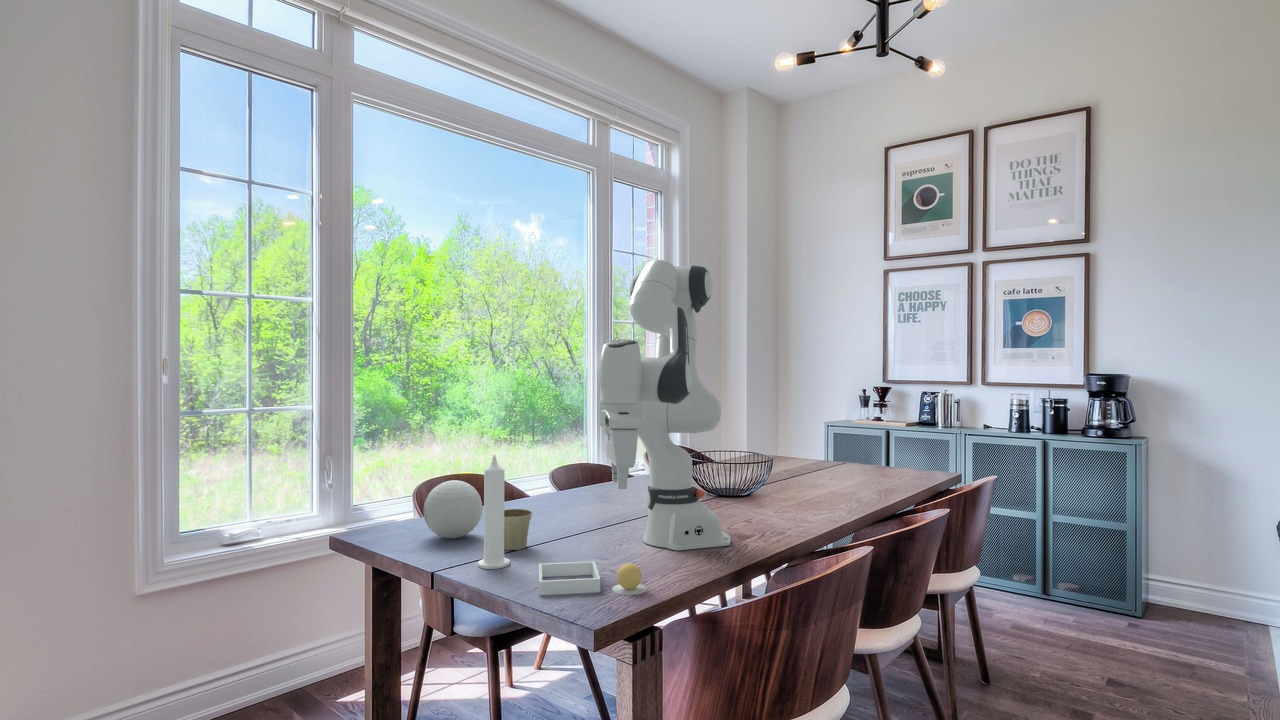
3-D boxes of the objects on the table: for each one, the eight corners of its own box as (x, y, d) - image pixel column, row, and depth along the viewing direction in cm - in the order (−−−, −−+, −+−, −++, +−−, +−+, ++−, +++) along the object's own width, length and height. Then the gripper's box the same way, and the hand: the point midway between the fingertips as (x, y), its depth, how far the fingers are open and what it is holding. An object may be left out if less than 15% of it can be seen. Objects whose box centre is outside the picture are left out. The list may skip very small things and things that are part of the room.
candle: (480, 560, 155) (481, 452, 155) (511, 559, 156) (511, 452, 156) (475, 569, 148) (476, 457, 148) (507, 569, 148) (508, 456, 149)
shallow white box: (594, 575, 144) (594, 561, 144) (600, 593, 132) (600, 578, 132) (538, 577, 142) (538, 563, 142) (539, 597, 131) (539, 581, 131)
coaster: (643, 584, 138) (643, 582, 138) (649, 595, 132) (649, 593, 132) (610, 585, 137) (610, 583, 137) (614, 597, 130) (614, 595, 130)
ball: (639, 584, 137) (639, 559, 137) (643, 592, 132) (643, 567, 132) (615, 585, 136) (615, 560, 137) (618, 593, 132) (618, 568, 132)
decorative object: (443, 529, 185) (444, 474, 185) (492, 532, 181) (492, 477, 181) (411, 542, 170) (411, 484, 170) (463, 547, 166) (463, 487, 166)
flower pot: (524, 553, 161) (524, 517, 161) (487, 551, 162) (488, 516, 163) (538, 543, 170) (538, 509, 170) (503, 541, 172) (503, 508, 172)
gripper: (600, 415, 147) (599, 478, 147) (609, 420, 127) (609, 493, 127) (628, 415, 148) (628, 478, 148) (642, 420, 128) (641, 492, 128)
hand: (619, 485), depth 137 cm, fingers open, 8 cm apart
